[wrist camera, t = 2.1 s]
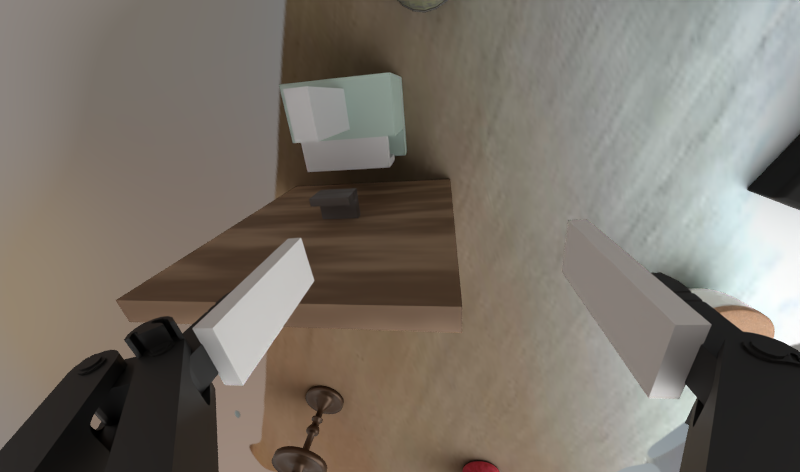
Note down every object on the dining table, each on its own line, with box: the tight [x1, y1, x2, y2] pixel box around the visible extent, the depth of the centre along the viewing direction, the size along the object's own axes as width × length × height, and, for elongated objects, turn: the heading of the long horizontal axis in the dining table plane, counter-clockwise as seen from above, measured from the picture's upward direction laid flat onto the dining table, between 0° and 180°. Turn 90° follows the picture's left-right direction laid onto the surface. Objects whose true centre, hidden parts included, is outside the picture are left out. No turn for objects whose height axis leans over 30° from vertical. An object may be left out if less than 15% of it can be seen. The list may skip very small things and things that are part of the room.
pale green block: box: [279, 72, 407, 172], centre depth 31 cm, size 9×12×18 cm
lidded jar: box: [688, 288, 774, 338], centre depth 41 cm, size 11×11×9 cm
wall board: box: [116, 179, 462, 333], centre depth 32 cm, size 11×24×28 cm, turn 95°
